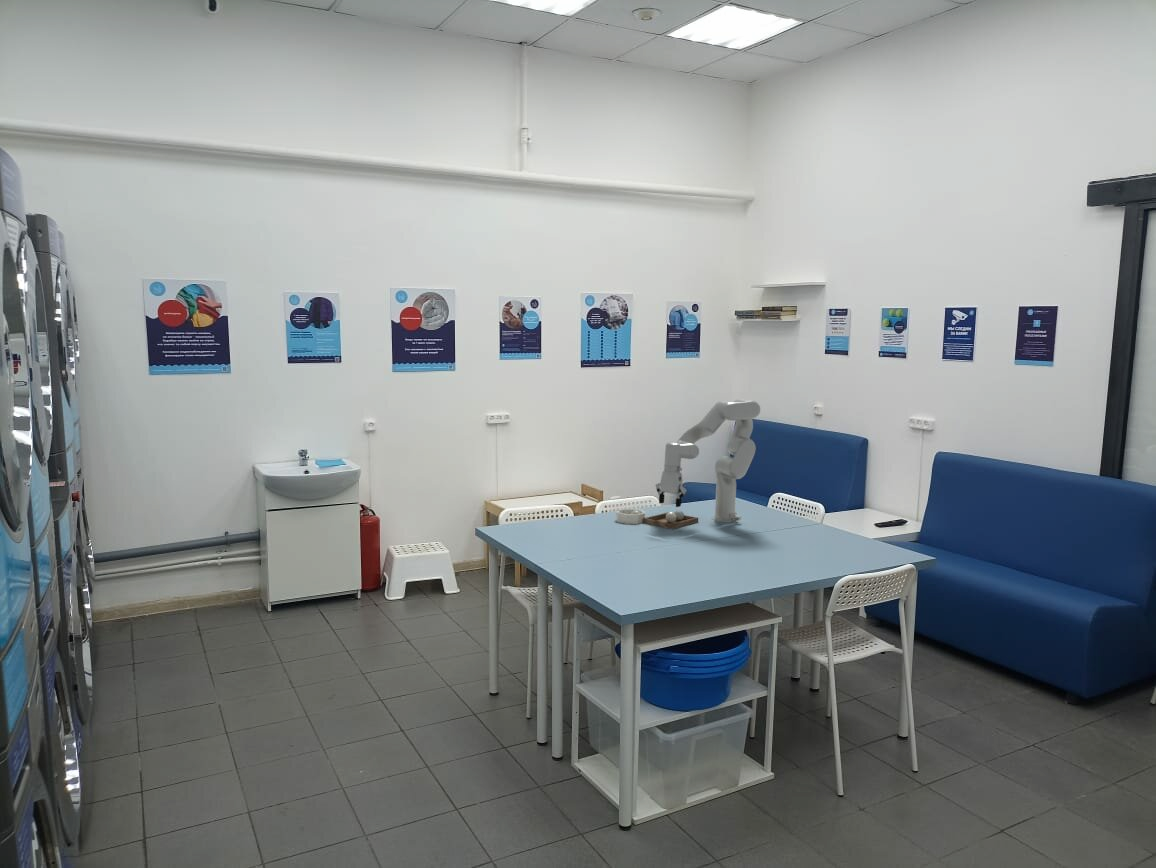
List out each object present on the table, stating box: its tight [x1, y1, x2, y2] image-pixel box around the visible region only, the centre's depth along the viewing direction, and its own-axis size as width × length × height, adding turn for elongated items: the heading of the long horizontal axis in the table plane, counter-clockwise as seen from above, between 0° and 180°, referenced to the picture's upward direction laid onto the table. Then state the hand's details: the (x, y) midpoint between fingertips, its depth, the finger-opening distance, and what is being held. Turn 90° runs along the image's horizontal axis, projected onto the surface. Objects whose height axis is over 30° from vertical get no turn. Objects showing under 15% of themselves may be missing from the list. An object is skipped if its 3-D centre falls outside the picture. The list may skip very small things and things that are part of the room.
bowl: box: [615, 508, 646, 525], centre depth 386 cm, size 13×13×5 cm
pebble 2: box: [673, 509, 685, 521], centre depth 388 cm, size 5×5×5 cm
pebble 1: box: [666, 511, 676, 523], centre depth 383 cm, size 5×5×5 cm
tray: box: [643, 511, 699, 530], centre depth 383 cm, size 17×21×3 cm
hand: (669, 504), depth 382 cm, fingers open, 9 cm apart
